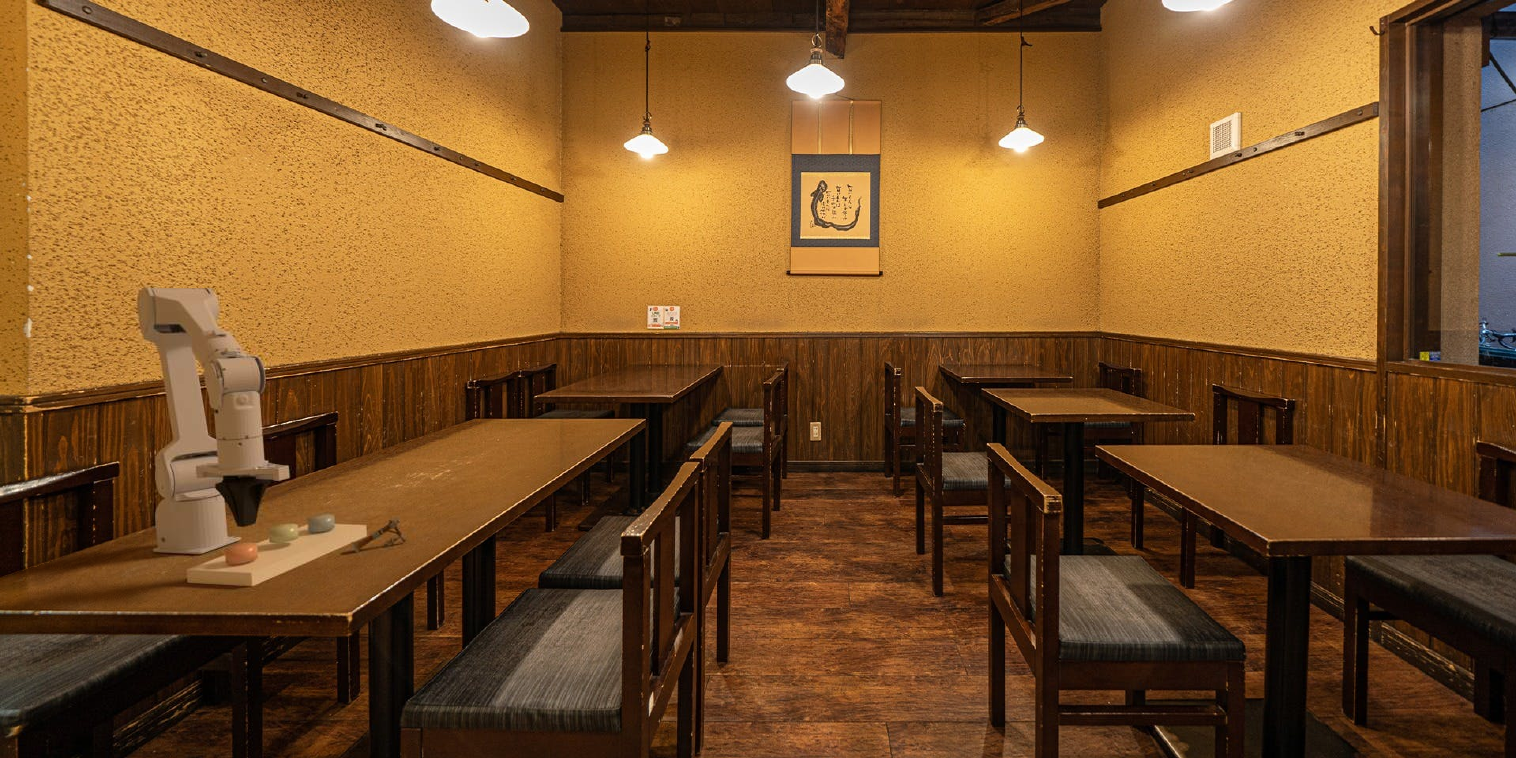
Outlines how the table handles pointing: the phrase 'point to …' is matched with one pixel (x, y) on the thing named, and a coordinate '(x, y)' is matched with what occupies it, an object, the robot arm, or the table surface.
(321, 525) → the slate button
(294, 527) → the sage button
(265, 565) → the button panel
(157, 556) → the table surface
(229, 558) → the orange rounded dome
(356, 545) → the wooden post with brackets
